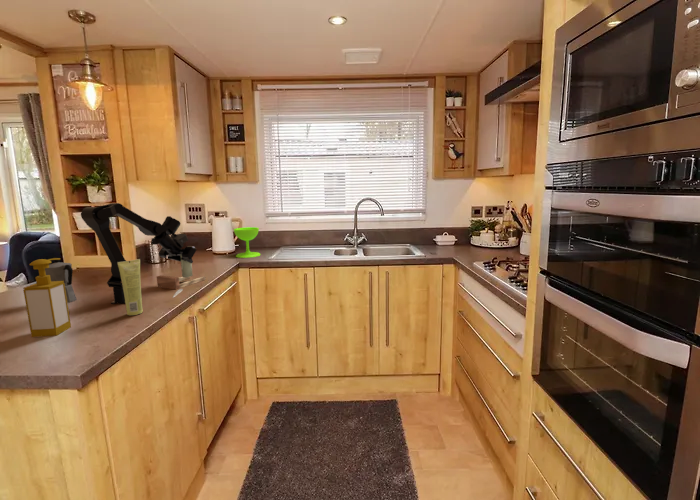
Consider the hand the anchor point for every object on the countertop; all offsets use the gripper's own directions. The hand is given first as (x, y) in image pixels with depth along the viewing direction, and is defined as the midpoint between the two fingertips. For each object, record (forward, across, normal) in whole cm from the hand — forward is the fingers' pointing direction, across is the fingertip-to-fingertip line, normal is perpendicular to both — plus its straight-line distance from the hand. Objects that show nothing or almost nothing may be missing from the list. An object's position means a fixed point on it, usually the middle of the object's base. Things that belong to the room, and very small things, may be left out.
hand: (188, 262), depth 180 cm
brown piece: (+3, 0, +10) cm, 11 cm away
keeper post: (+4, 0, +6) cm, 7 cm away
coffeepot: (-23, +24, +37) cm, 50 cm away
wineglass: (+53, +16, -40) cm, 68 cm away
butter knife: (-10, -16, +24) cm, 30 cm away
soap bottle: (-38, -7, +52) cm, 64 cm away
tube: (-24, -18, +38) cm, 49 cm away
